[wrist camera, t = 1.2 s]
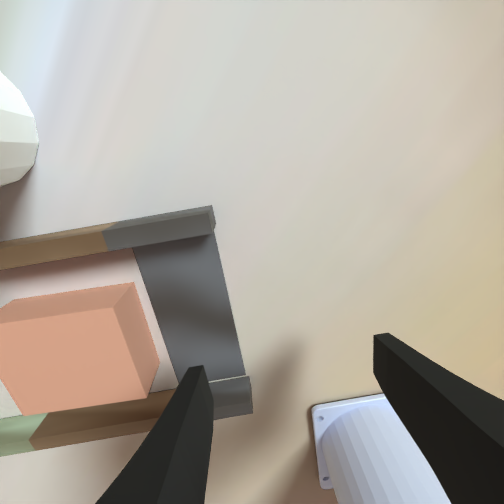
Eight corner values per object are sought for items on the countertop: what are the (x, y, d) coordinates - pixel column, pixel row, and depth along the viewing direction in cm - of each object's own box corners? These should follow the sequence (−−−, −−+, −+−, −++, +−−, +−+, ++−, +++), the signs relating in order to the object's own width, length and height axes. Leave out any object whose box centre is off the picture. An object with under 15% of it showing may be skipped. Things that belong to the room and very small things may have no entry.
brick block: (161, 359, 17) (146, 397, 15) (58, 374, 17) (23, 416, 15) (135, 279, 15) (112, 307, 12) (18, 296, 15) (-32, 328, 12)
